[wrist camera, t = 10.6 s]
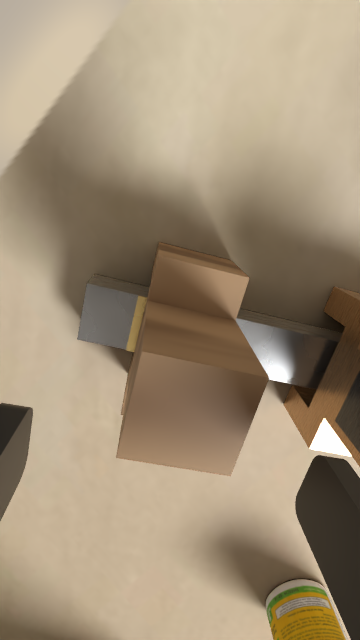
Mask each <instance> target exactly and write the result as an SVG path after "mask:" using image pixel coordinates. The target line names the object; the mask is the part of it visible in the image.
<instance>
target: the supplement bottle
mask: <svg viewBox="0 0 360 640" xmlns="http://www.w3.org/2000/svg"><path fill="white" fill-rule="evenodd" d="M266 611H267V616H268V620H269V623H270V627H271V631H272V635H273V639H274V640H348V639H347V636H346V634H345V631H344V629H343V627H342V624H341V622H340V619H339V617H338V615H337V612H336V610H335V607H334V605H333V603H332V601H331V598H330V596H329V594H328V592H327V590H326V589H325V588H324V587H323V586H322V585H321V584H319V583H317V582H315V581H312V580H306V579H296V580H291V581H288V582H285V583H283V584H281V585H280V586H278V587H276V588H275V589H274V590H273V591H272V592H271V593H270V594H269V596H268V598H267V600H266Z"/></svg>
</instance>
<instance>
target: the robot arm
mask: <svg viewBox="0 0 360 640" xmlns="http://www.w3.org/2000/svg"><path fill="white" fill-rule="evenodd" d="M32 416H33V409H32V408H30V407H24V406H18V405H12V404H6V403H1V404H0V521H1V519H2V517H3V515H4V513H5V511H6V508H7V506H8V504H9V502H10V500H11V498H12V496H13V494H14V492H15V490H16V488H17V486H18V484H19V482H20V479H21V477H22V474H23V471H24V468H25V465H26V461H27V456H28V449H29V441H30V433H31V424H32ZM295 506H296V514H297V518H298V520H299V523H300V525H301V527H302V529H303V532H304V534H305V536H306V539H307V541H308V543H309V545H310V548H311V550H312V552H313V554H314V557H315V559H316V561H317V563H318V566H319V568H320V570H321V573H322V575H323V577H324V579H325V582H326V584H327V586H328V588H329V591H330V593H331V595H332V597H333V600H334V602H335V604H336V607H337V609H338V611H339V613H340V616H341V618H342V620H343V622H344V625H345V627H346V629H347V632H348V634H349V636H350V638H351V640H360V478H359V477H358V475H357V474H356V472H355V471H354V470H353V468H352V467H351V466H350V464H349V463H348V462H347V461H346V460H344V459H339V458H333V457H327V456H321V455H318V456H316V457H315V458H314V459H313V461H312V463H311V465H310V467H309V469H308V471H307V474H306V476H305V478H304V480H303V482H302V485H301V487H300V489H299V491H298V493H297V496H296V504H295Z"/></svg>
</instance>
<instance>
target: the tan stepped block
mask: <svg viewBox="0 0 360 640" xmlns="http://www.w3.org/2000/svg"><path fill="white" fill-rule="evenodd" d="M249 279H250V278H249V277H248V276H247V275H246V274H245V273H244V272H243V271H242V270H241V269H240V268H239V267H238V266H237V265H236V264H235V263H234V262H232V261H231V260H228V259H224V258H220V257H216V256H212V255H208V254H204V253H200V252H196V251H192V250H188V249H184V248H180V247H177V246H173V245H169V244H165V243H161V242H159V243H158V247H157V252H156V256H155V260H154V264H153V269H152V278H151V284H150V288H149V292H148V297H147V301H146V305H145V309H144V314H143V318H142V322H141V327H140V331H139V335H138V339H137V344H136V348H135V352H133V354H132V359H131V363H130V367H129V372H128V377H127V382H126V388H125V394H124V399H123V405H122V411H121V415H123V420H122V426H121V432H120V438H119V444H118V450H117V456H116V458H121V459H127V460H133V461H139V462H145V463H152V464H158V465H164V466H170V467H177V468H183V469H189V470H195V471H201V472H208V473H214V474H220V475H226V476H231V474H232V471H233V469H234V466H235V463H236V461H237V458H238V456H239V453H240V451H241V448H242V446H243V443H244V441H245V438H246V436H247V433H248V430H249V428H250V425H251V423H252V420H253V418H254V415H255V413H256V410H257V408H258V405H259V403H260V400H261V397H262V395H263V392H264V390H265V387H266V385H267V382H268V380H269V376H268V375H267V373H266V371H265V370H264V368H263V366H262V365H261V363H260V361H259V359H258V358H257V356H256V354H255V353H254V351H253V349H252V348H251V346H250V344H249V343H248V341H247V339H246V337H245V336H244V334H243V332H242V331H241V329H240V327H239V326H238V324H237V322H236V318H237V315H238V312H239V309H240V306H241V303H242V300H243V297H244V294H245V291H246V288H247V285H248V282H249Z"/></svg>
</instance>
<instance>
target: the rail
mask: <svg viewBox="0 0 360 640" xmlns="http://www.w3.org/2000/svg"><path fill="white" fill-rule="evenodd" d="M149 288H150V287H147V286H143V285H139V284H135V283H130V282H126V281H122V280H118V279H113V278H109V277H105V276H101V275H97V274H94V275H93V277H92V278H91V279H90V280H89V281H88V283H87V286H86V292H85V298H84V303H83V309H82V315H81V321H80V327H79V332H78V338H77V339H78V340H82V341H87V342H92V343H97V344H102V345H106V346H111V347H116V348H121V349H125V350H126V351H131V352H135V348H136V344H137V339H138V335H139V331H140V327H141V322H142V318H143V314H144V309H145V305H146V301H147V297H148V292H149ZM324 312H326V313H327V314H328V315H330V316H331V317H332V318H334V319H335V320H337V321H338V322H339V323H341V324H342V325H343V326H345V329H344V332H343V333H341V332H337V331H333V330H329V329H324V328H320V327H316V326H312V325H308V324H303V323H299V322H295V321H291V320H286V319H282V318H278V317H274V316H270V315H265V314H261V313H257V312H253V311H249V310H244V309H239V312H238V315H237V318H236V322H237V324H238V326H239V327H240V329H241V331H242V332H243V334H244V336H245V337H246V339H247V341H248V343H249V344H250V346H251V348H252V349H253V351H254V353H255V354H256V356H257V358H258V359H259V361H260V363H261V365H262V366H263V368H264V370H265V371H266V373H267V375H268V376H269V380H274V381H279V382H283V383H288V384H293V385H292V386H291V388H290V391H289V393H288V395H287V398H286V400H285V402H284V406H285V408H286V410H287V411H288V413H289V415H290V416H291V418H292V420H293V422H294V423H295V425H296V427H297V428H298V430H299V432H300V434H301V435H302V437H303V439H304V440H305V442H306V444H307V446H308V447H309V449H314V450H319V451H325V452H330V453H336V454H341V455H347V456H352V457H353V458H354V460H355V461H356V462H357V464H358V465H359V466H360V293H358V292H354V291H350V290H346V289H342V288H338V287H333V290H332V292H331V294H330V297H329V299H328V301H327V304H326V306H325V308H324ZM296 385H298V386H296ZM301 386H303V387H301ZM306 387H307V388H306ZM311 388H312V389H311ZM316 389H317V390H316Z"/></svg>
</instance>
